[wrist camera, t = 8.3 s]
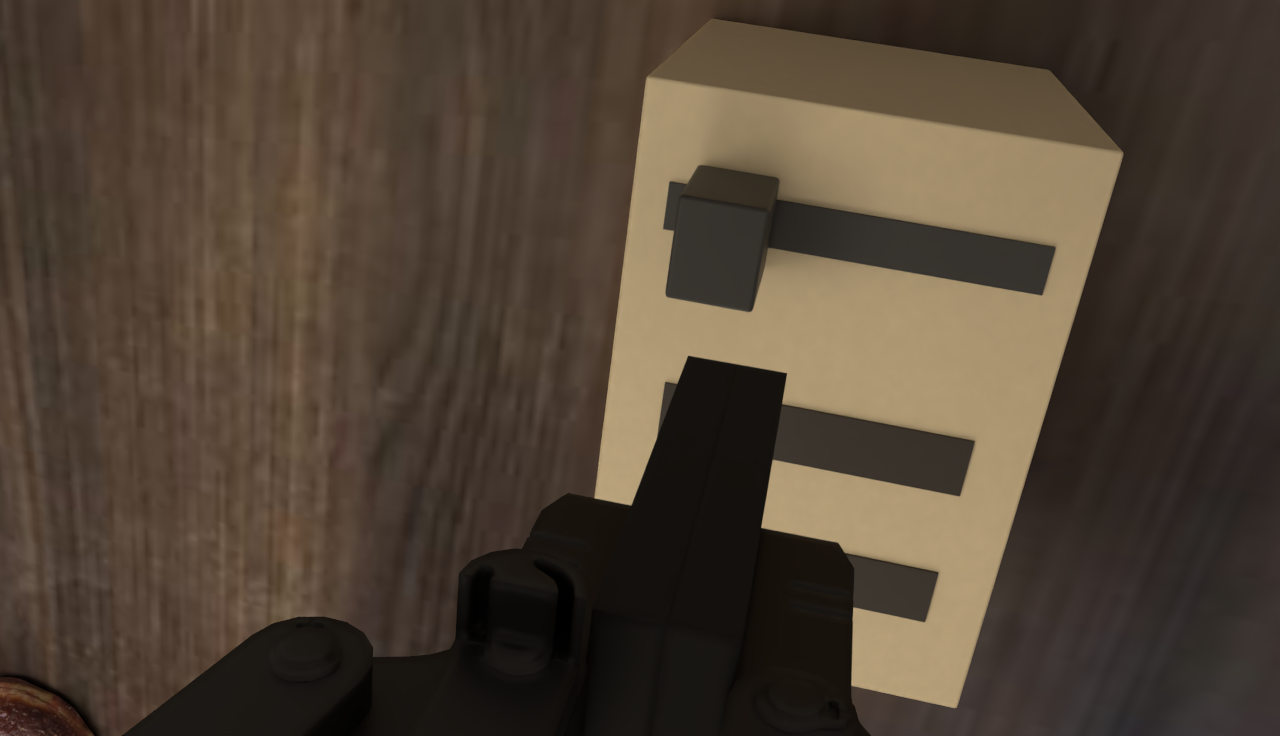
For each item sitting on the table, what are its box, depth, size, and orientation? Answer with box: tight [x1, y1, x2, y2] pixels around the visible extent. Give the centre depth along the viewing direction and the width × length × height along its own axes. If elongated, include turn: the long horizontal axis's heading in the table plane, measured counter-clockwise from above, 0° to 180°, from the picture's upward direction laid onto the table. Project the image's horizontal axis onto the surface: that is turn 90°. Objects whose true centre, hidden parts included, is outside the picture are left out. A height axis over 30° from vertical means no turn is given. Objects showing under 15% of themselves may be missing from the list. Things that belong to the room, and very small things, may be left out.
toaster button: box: [665, 165, 780, 312], centre depth 27 cm, size 2×2×3 cm
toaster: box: [594, 19, 1123, 708], centre depth 35 cm, size 16×11×12 cm
